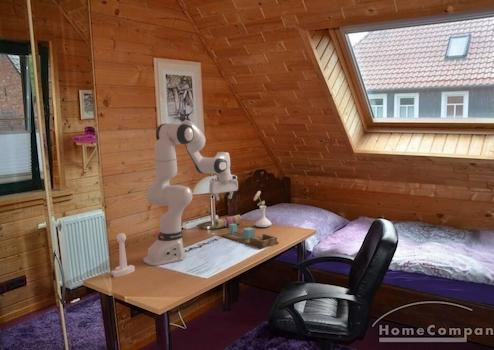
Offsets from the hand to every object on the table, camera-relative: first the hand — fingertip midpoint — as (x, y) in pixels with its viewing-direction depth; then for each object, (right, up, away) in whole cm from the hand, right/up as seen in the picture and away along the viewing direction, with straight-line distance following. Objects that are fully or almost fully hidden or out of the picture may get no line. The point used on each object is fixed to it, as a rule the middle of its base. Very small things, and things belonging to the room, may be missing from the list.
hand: (224, 199), depth 260 cm
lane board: (+16, -24, -9) cm, 30 cm away
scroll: (+2, -20, +23) cm, 31 cm away
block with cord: (+11, -22, -4) cm, 25 cm away
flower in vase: (+25, -20, +21) cm, 38 cm away
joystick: (-47, -33, -58) cm, 81 cm away
